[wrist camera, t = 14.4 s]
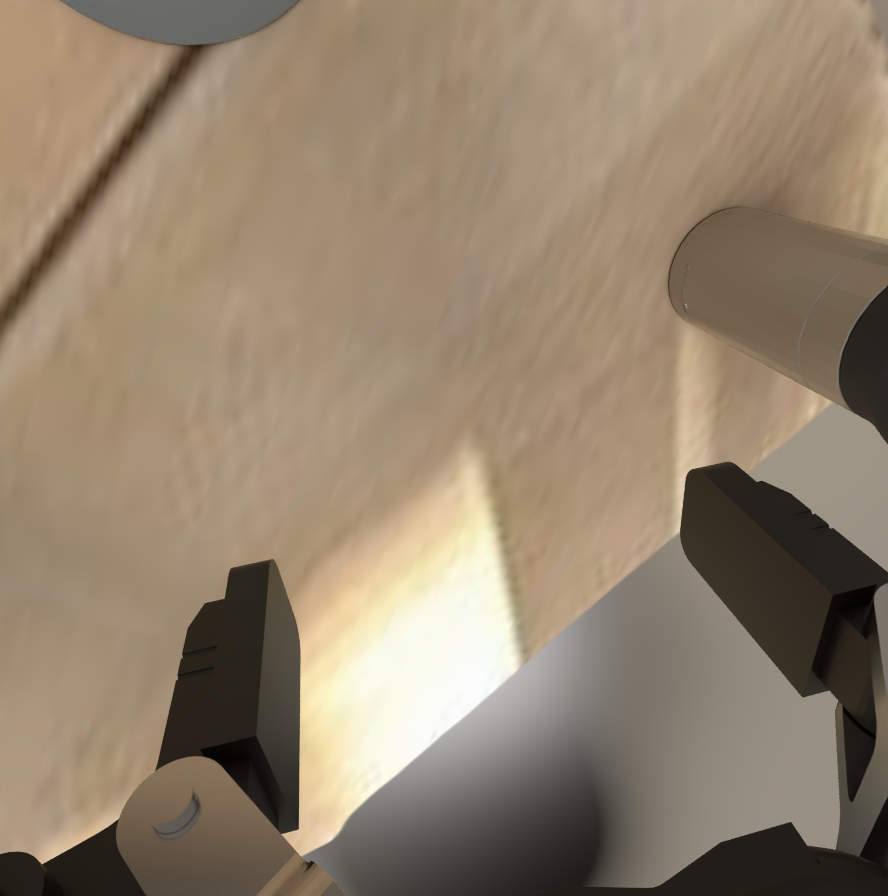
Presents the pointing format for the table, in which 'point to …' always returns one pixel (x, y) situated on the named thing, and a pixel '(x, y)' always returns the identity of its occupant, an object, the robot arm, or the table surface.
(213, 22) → the candle tray
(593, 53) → the table surface
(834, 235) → the robot arm
